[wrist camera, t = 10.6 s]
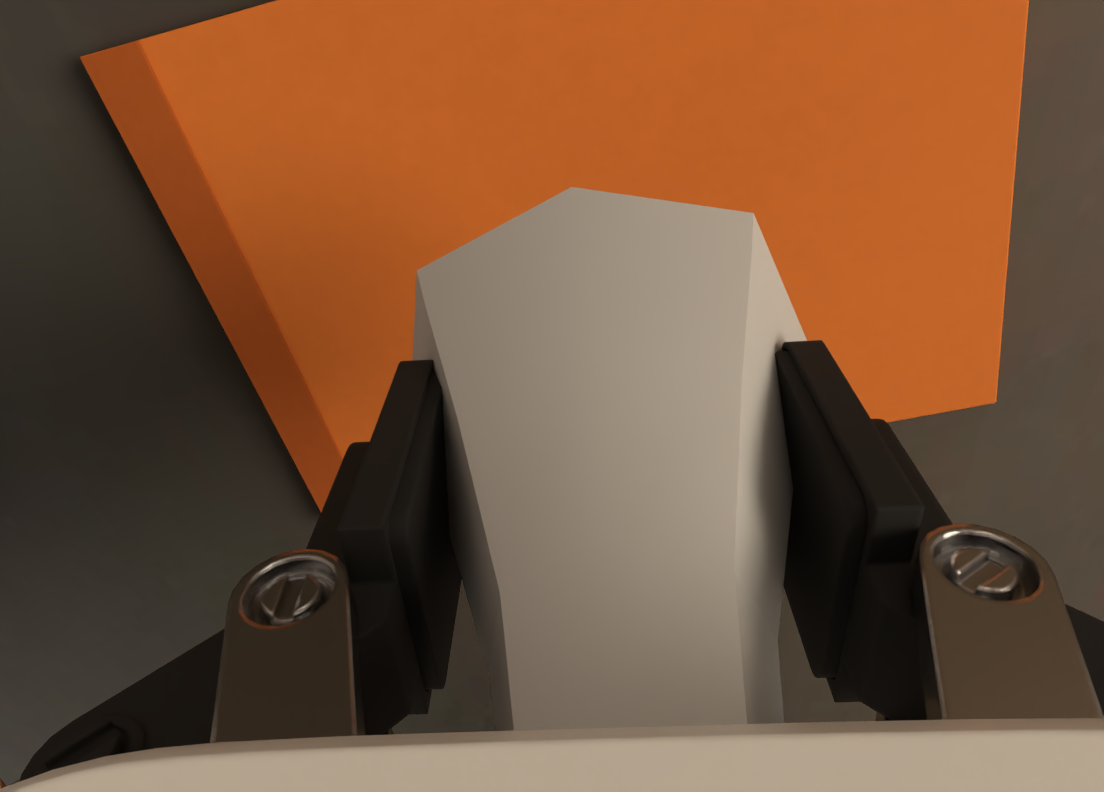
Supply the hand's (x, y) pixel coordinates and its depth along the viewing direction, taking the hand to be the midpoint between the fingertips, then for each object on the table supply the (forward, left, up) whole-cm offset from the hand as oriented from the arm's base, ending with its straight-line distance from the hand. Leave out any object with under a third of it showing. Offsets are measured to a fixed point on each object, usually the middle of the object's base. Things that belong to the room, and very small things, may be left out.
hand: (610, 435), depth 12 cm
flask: (0, 0, -2) cm, 2 cm away
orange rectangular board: (0, 0, -9) cm, 9 cm away
